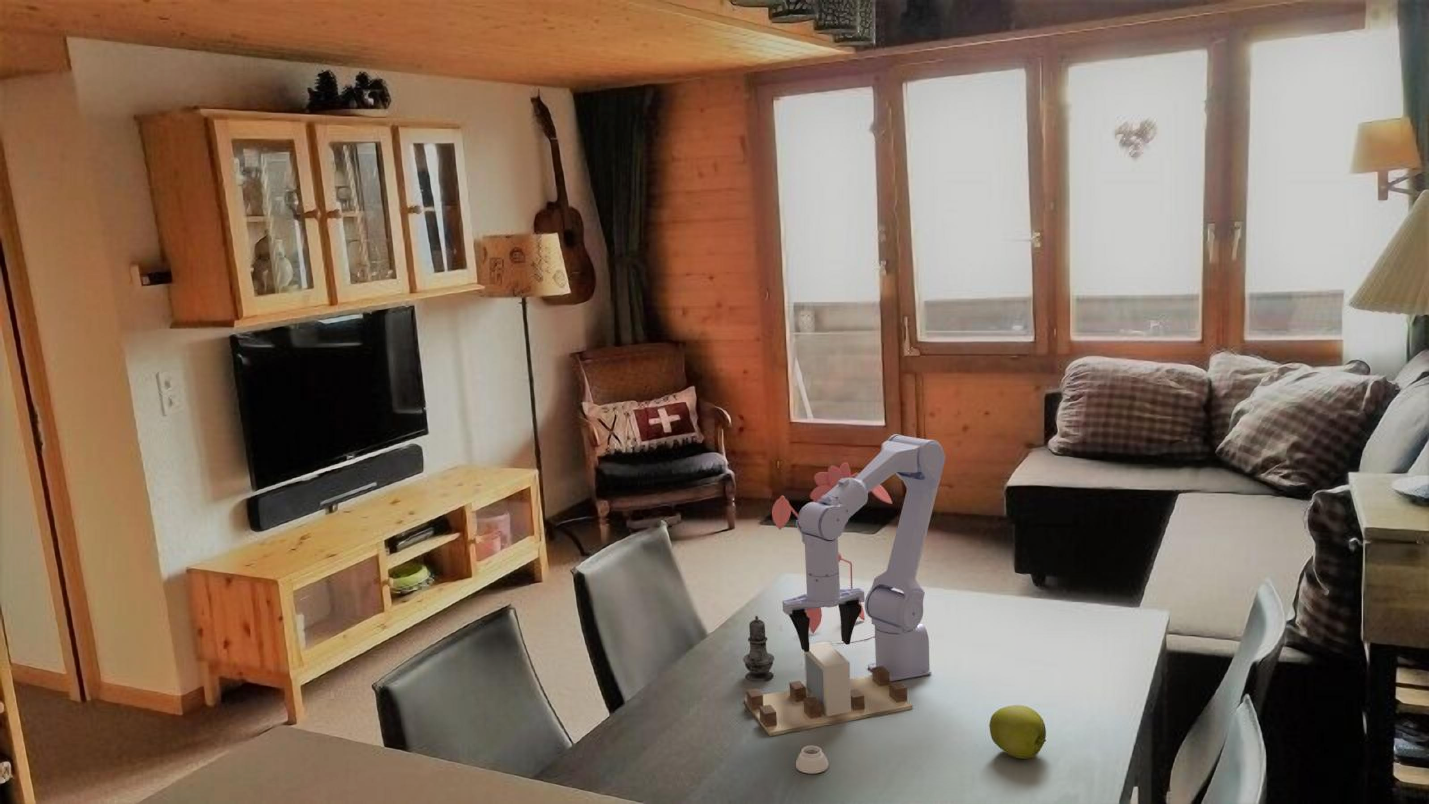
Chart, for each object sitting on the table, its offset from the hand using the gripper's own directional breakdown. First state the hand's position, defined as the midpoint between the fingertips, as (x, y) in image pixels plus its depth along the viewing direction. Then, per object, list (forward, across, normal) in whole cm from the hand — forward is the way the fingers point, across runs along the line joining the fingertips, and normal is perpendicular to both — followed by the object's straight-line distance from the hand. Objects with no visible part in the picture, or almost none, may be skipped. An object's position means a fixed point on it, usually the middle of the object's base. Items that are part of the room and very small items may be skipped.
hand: (825, 646), depth 192 cm
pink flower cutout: (+11, +16, +30) cm, 35 cm away
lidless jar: (+11, -11, -20) cm, 25 cm away
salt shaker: (+10, -8, +15) cm, 20 cm away
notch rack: (+10, -1, -1) cm, 10 cm away
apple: (+11, +20, -29) cm, 37 cm away
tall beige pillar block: (+10, -1, -2) cm, 10 cm away
